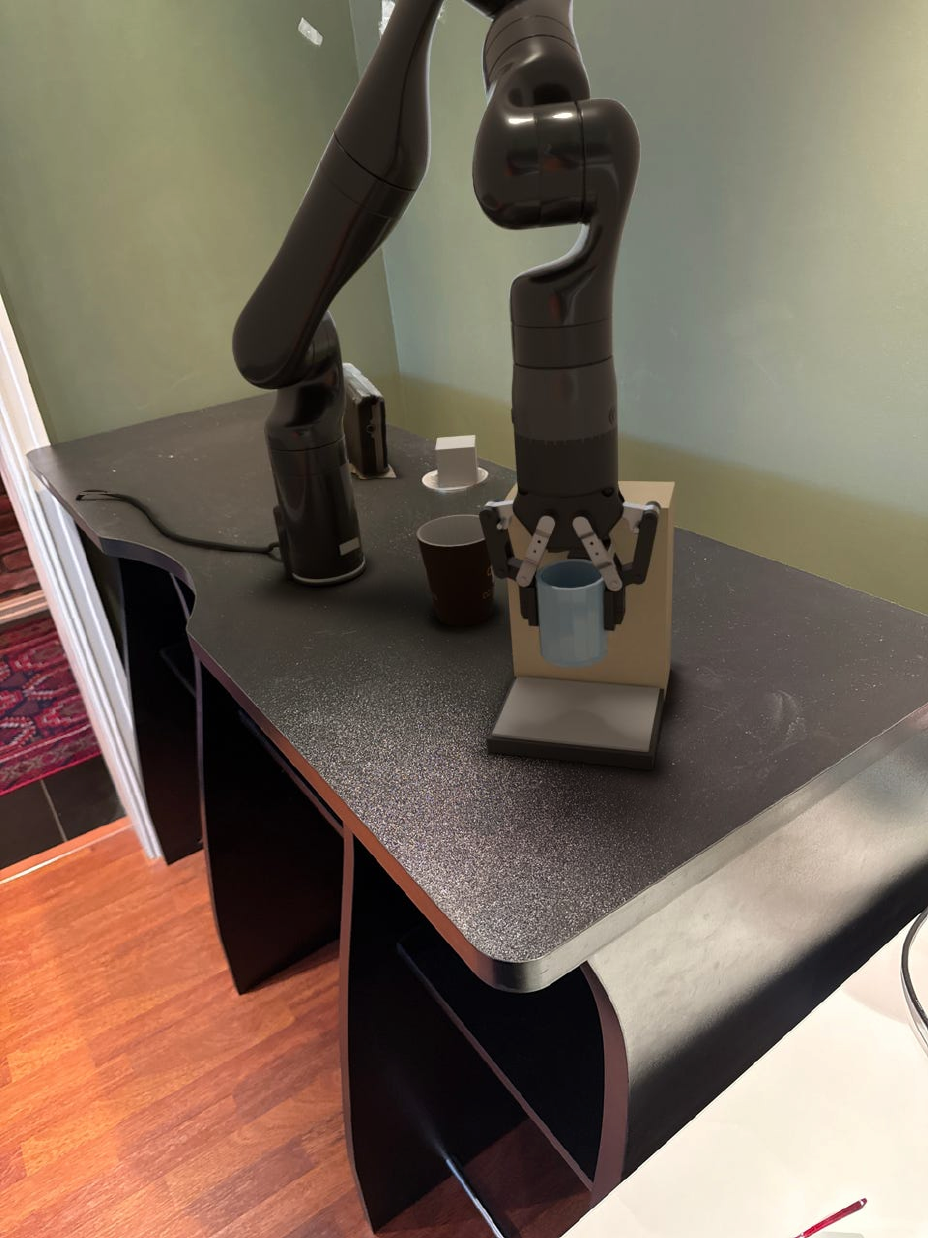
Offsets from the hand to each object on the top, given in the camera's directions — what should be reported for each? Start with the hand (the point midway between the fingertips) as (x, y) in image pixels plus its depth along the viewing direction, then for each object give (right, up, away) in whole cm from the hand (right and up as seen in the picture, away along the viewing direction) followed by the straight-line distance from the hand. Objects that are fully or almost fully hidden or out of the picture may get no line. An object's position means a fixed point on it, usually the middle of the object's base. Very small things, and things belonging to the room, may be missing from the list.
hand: (572, 623), depth 72 cm
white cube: (-10, +22, +67) cm, 71 cm away
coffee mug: (-8, +2, +29) cm, 30 cm away
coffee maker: (+2, -8, +9) cm, 12 cm away
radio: (-26, +28, +80) cm, 89 cm away
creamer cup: (0, -2, +1) cm, 3 cm away
